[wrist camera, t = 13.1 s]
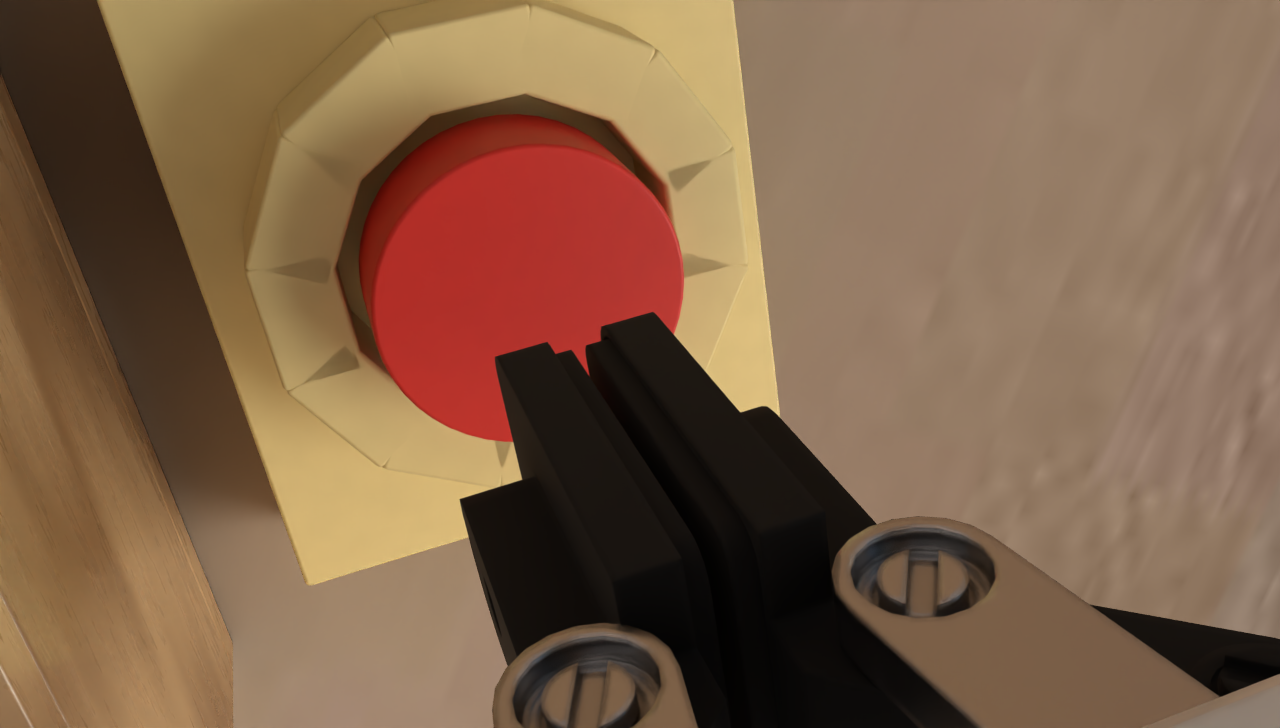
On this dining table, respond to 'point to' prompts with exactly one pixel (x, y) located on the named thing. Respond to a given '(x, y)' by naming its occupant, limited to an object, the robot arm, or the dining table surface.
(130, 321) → the dining table surface
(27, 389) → the cabinet
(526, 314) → the red button
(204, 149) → the button box
